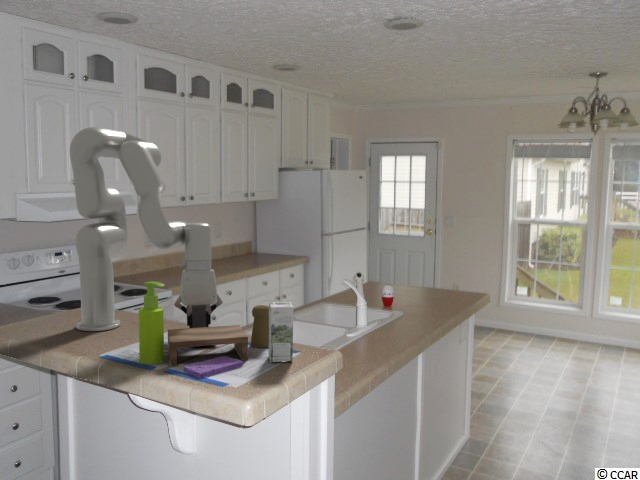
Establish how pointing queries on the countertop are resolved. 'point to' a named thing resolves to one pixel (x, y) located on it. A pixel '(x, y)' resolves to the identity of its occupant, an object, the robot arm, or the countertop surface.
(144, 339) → the soap dispenser
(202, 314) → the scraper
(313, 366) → the countertop surface
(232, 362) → the sponges
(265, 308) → the cork
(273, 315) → the syrup box
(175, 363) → the low shelf
